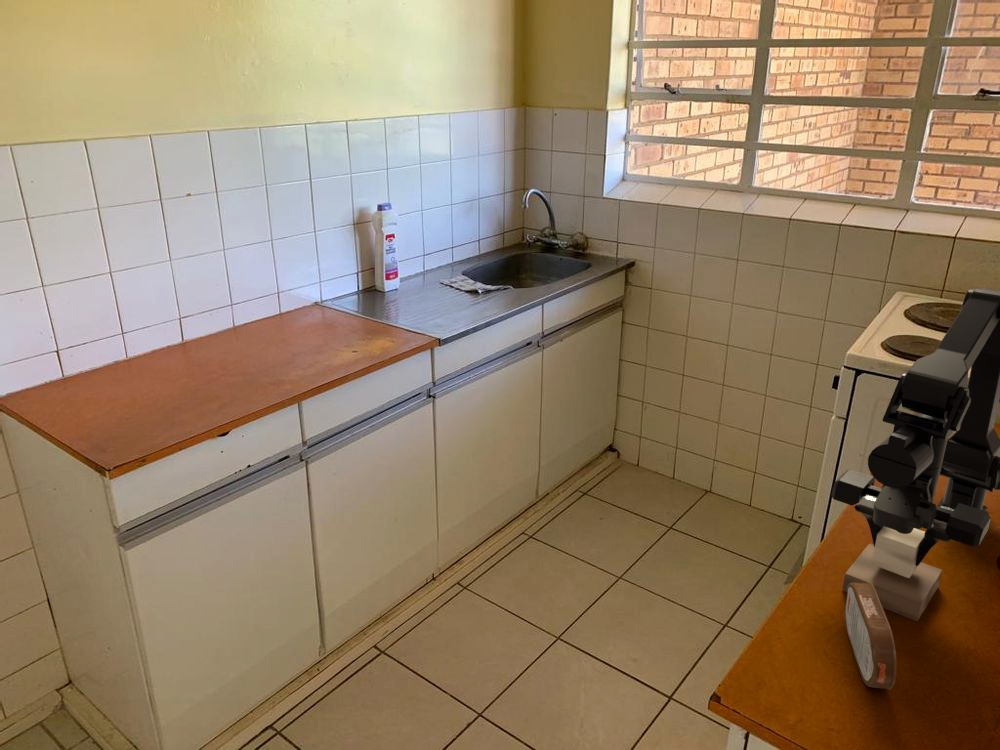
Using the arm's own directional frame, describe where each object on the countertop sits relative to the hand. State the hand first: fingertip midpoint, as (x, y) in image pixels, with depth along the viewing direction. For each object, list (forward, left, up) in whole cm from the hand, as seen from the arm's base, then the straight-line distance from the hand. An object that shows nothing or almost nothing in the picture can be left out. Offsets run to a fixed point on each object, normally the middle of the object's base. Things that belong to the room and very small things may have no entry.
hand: (897, 557), depth 107 cm
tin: (+17, +2, -6) cm, 18 cm away
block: (0, 0, -1) cm, 1 cm away
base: (0, 0, -6) cm, 6 cm away
